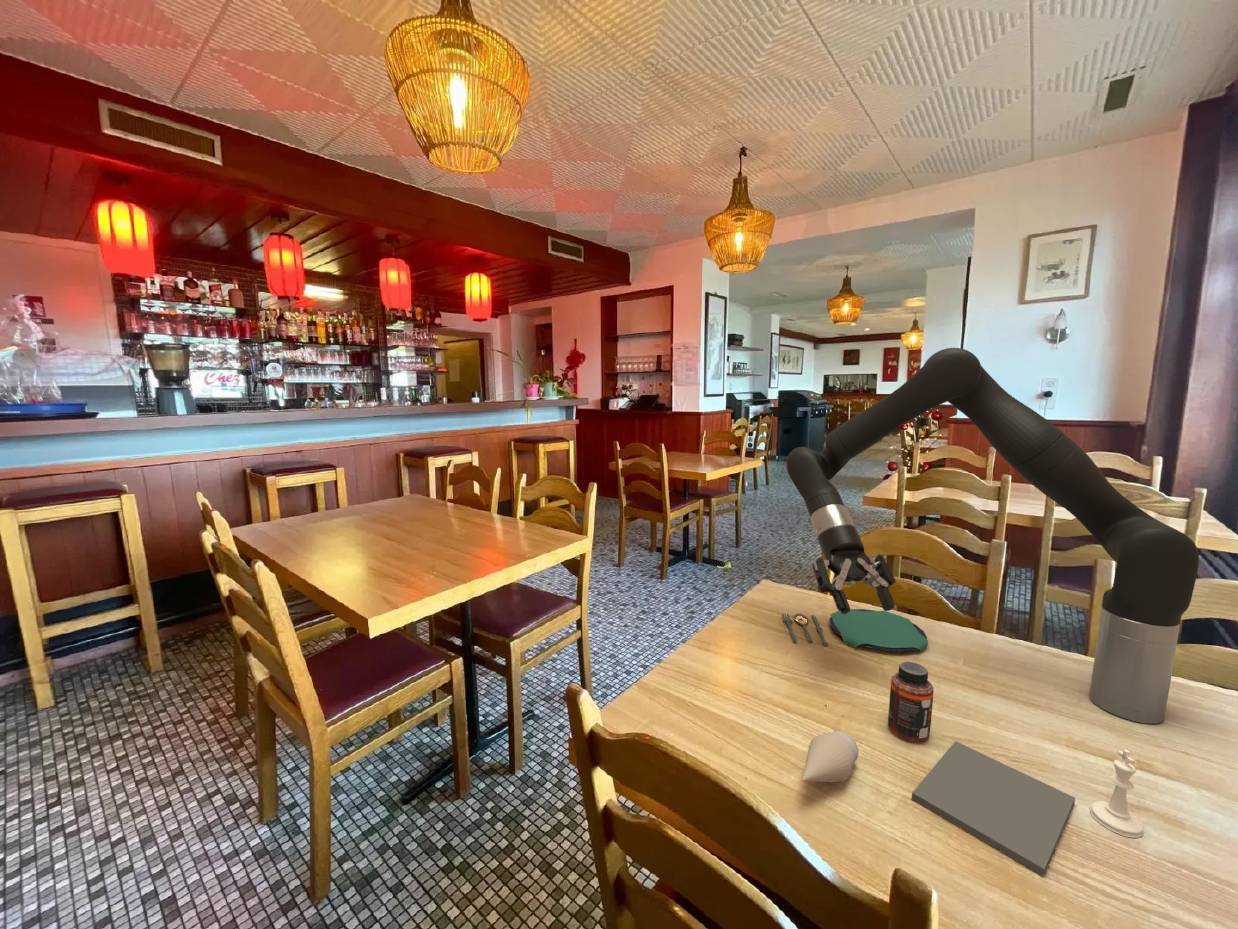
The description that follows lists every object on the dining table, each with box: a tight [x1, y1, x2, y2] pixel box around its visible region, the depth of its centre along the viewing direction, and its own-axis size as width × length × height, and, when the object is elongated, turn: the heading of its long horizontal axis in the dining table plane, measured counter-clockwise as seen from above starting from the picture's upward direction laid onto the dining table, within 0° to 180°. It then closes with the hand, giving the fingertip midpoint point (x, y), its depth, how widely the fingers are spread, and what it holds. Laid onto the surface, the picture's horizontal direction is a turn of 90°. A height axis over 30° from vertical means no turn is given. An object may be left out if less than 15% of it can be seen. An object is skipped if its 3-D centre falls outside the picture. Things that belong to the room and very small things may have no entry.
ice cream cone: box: [801, 730, 859, 783], centre depth 70 cm, size 6×6×15 cm
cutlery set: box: [781, 608, 929, 652], centre depth 114 cm, size 20×30×2 cm, turn 80°
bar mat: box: [911, 740, 1076, 877], centre depth 67 cm, size 16×14×1 cm
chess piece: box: [1089, 749, 1145, 839], centre depth 63 cm, size 5×5×10 cm
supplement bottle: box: [887, 661, 935, 743], centre depth 80 cm, size 6×6×11 cm
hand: (868, 611), depth 90 cm, fingers open, 8 cm apart
